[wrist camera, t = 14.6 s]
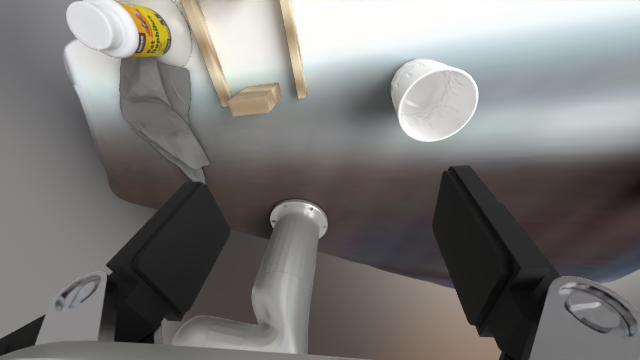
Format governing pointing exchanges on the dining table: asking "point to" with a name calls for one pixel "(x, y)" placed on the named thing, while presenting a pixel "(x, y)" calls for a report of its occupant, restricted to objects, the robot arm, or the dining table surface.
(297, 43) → the wooden slatted rack
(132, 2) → the coaster
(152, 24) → the supplement bottle
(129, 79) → the cloth
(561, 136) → the dining table surface
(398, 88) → the white cup
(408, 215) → the dining table surface
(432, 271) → the dining table surface
